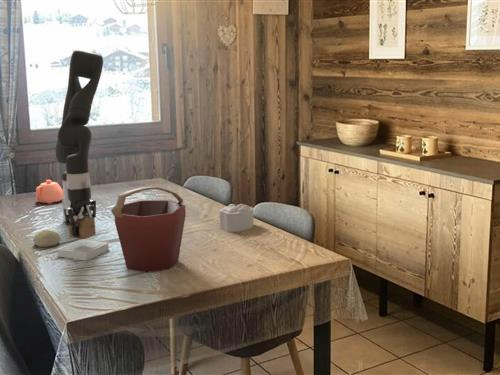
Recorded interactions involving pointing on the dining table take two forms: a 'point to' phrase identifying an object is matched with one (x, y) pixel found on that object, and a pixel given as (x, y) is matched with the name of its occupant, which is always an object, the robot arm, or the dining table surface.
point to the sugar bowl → (49, 192)
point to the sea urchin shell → (46, 238)
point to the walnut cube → (84, 227)
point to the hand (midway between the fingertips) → (82, 233)
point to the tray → (83, 249)
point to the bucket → (149, 231)
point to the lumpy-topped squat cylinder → (236, 218)
